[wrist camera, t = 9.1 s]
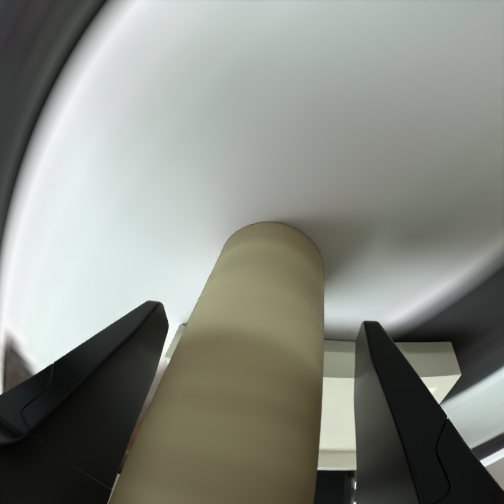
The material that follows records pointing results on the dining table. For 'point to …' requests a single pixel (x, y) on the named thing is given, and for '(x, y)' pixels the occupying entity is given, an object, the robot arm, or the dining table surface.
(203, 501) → the dowel
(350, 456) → the tray
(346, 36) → the dining table surface
